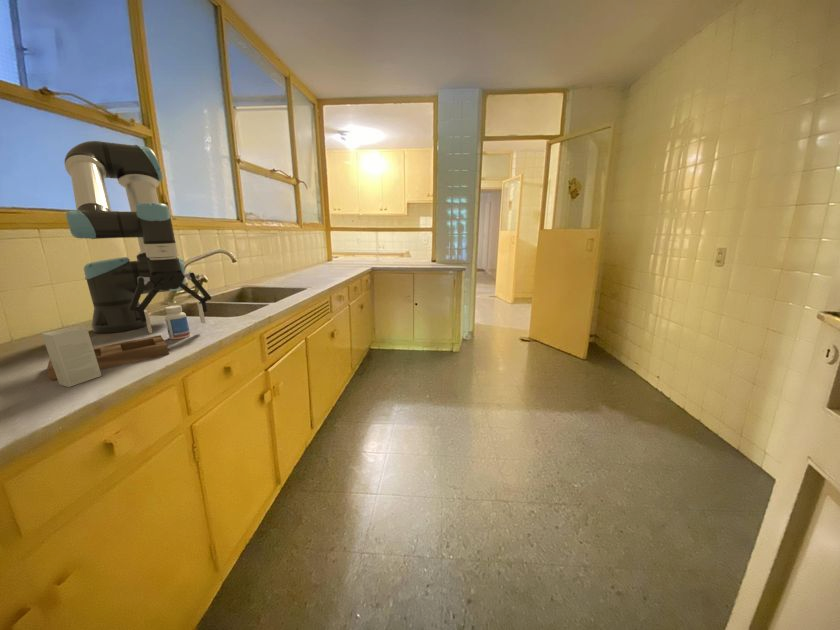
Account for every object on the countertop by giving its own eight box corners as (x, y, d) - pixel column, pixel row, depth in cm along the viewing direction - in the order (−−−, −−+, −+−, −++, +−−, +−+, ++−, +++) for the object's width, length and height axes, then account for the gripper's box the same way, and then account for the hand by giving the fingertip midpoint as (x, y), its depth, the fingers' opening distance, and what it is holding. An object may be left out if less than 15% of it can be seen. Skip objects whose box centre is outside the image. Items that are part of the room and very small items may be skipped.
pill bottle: (194, 334, 107) (188, 304, 104) (181, 339, 101) (174, 309, 99) (178, 334, 107) (172, 304, 105) (164, 339, 102) (157, 308, 99)
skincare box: (92, 373, 79) (77, 325, 76) (102, 376, 77) (88, 327, 74) (57, 384, 73) (40, 333, 70) (67, 388, 72) (50, 335, 69)
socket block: (54, 366, 83) (50, 355, 82) (162, 344, 98) (160, 335, 97) (50, 380, 75) (47, 368, 75) (169, 353, 90) (166, 344, 90)
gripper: (106, 262, 87) (126, 339, 93) (214, 255, 104) (225, 321, 109) (105, 260, 92) (124, 333, 98) (208, 254, 109) (219, 316, 114)
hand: (177, 327), depth 103 cm, fingers open, 13 cm apart
